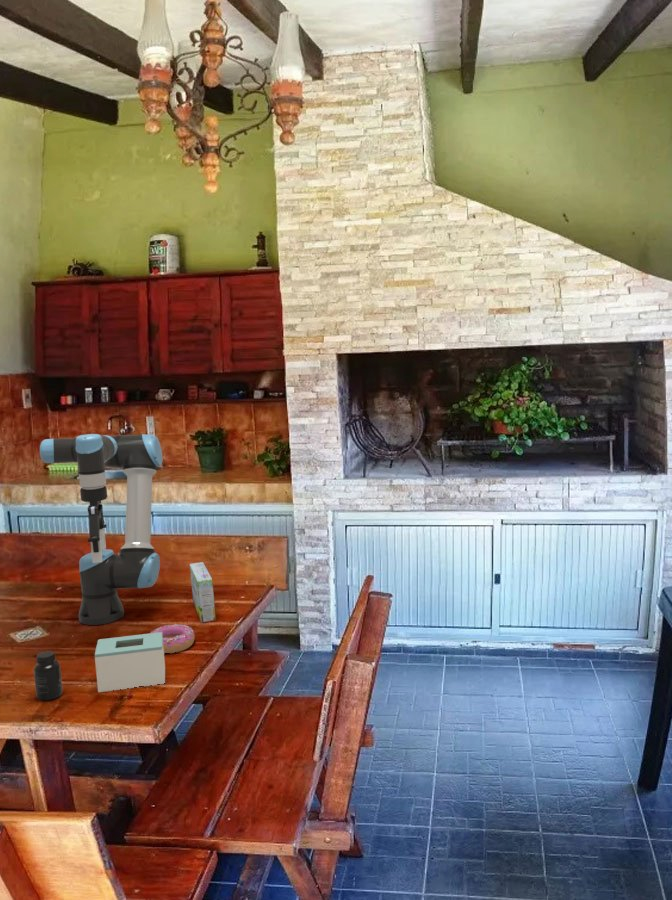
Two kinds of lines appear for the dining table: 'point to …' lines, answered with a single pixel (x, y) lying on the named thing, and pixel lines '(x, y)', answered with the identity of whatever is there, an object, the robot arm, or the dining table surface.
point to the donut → (176, 637)
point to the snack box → (202, 592)
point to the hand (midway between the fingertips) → (99, 556)
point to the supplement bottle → (47, 676)
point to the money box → (130, 662)
